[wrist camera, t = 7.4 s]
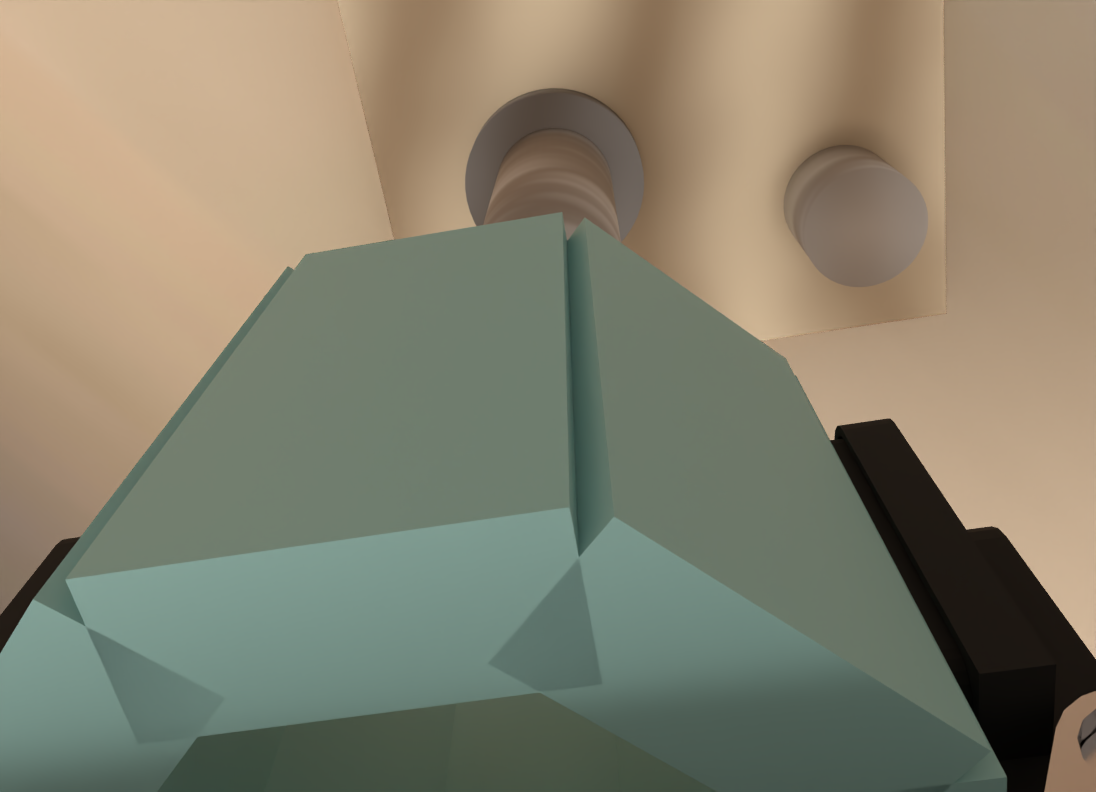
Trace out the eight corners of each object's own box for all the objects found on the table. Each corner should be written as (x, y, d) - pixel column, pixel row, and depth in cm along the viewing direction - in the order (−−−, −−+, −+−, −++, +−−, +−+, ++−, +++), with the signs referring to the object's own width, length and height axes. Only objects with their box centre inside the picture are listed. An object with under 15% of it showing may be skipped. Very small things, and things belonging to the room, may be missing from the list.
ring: (780, 175, 11) (1014, 443, 5) (821, 718, 14) (996, 1244, 8) (102, 288, 11) (-322, 634, 6) (287, 786, 14) (122, 1319, 9)
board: (927, -124, 27) (1163, -150, 16) (933, 300, 32) (1118, 495, 21) (343, -15, 29) (203, 27, 18) (435, 374, 34) (369, 593, 23)
